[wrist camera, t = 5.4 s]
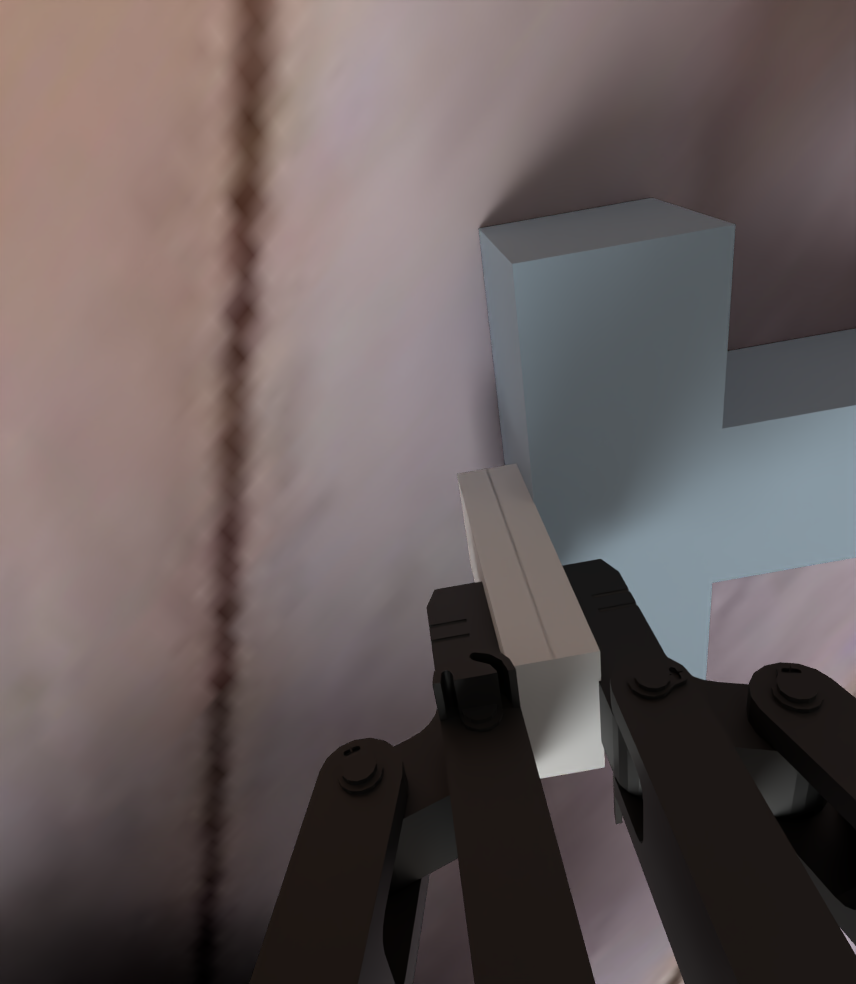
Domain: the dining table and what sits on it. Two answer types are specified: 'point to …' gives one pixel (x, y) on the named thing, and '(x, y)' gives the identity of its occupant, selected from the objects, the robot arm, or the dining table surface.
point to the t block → (664, 411)
